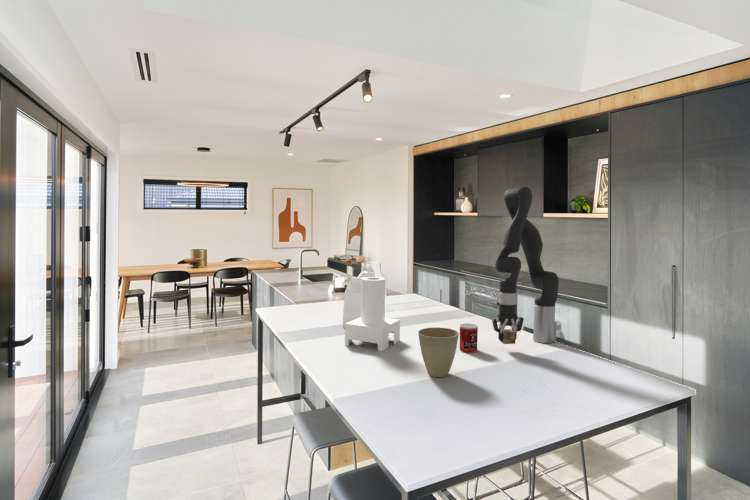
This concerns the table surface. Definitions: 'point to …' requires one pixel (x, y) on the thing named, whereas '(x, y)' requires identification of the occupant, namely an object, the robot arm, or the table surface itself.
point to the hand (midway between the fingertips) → (507, 340)
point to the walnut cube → (508, 336)
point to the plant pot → (438, 349)
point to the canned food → (468, 338)
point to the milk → (352, 300)
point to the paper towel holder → (372, 316)
